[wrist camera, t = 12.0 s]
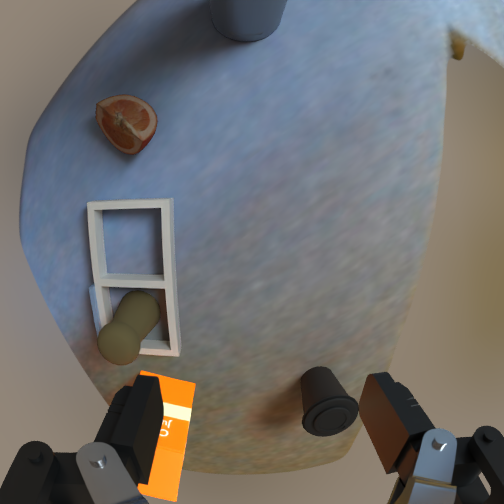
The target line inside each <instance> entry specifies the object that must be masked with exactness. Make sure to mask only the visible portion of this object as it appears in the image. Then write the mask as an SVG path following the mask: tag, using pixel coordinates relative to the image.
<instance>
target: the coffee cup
mask: <svg viewBox="0 0 504 504" xmlns="http://www.w3.org/2000/svg"><path fill="white" fill-rule="evenodd" d="M301 392H302V401H303V410H304V415H303V418H302V425H303V428H304V429H305V430H306V431H307V432H308V433H310V434H312V435H315V436H322V437H324V436H331V435H335V434H337V433H340V432H342V431H344V430H345V429H347V428H348V427H349V426H350V425H351V424H352V423H353V422H354V421H355V419H356V417H357V415H358V411H359V406H358V403H357V401H356V400H355V399H354V398H352V397H350V396H349V395H348V394H347V393H346V391H345V390H344V388H343V387H342V386H341V384H340V383H339V381H338V380H337V379H336V377H335V376H334V374H333V373H332V372H331V370H330V369H328V368H327V367H315V368H311V369H310V370H308V371H307V372H306V373H305V374H304V375H303V376H302V378H301Z"/></svg>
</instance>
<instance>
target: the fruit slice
mask: <svg viewBox="0 0 504 504" xmlns="http://www.w3.org/2000/svg"><path fill="white" fill-rule="evenodd" d="M96 120H97V122H98V125H99V126H100V128H101V130H102V131H103V133H104V135H105V136H106V137H107V139H108V140H109V141H110V142H111V143H112V144H113V145H114V146H115V147H116V148H117V149H118V150H120V151H121V152H123V153H126V154H131V155H134V154H137V153H139V152H140V151H141V150H142V149H143V148H144V147H145V146H146V145H147V144H148V143H149V142H150V140H151V139H152V137H153V135H154V134H155V131H156V127H157V115H156V113H155V111H154V110H153V108H152V107H151V106H150V105H149V104H148V103H146V102H145V101H143V100H142V99H139V98H137V97H135V96H131V95H124V94H123V95H116V96H112V97H109V98H106V99H104V100H102V101H100V102H98V103H97V104H96Z"/></svg>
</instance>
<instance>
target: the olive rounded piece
mask: <svg viewBox="0 0 504 504" xmlns="http://www.w3.org/2000/svg"><path fill="white" fill-rule="evenodd" d="M160 314H161V311H160V307H159V304H158V303H157V301H156V299H155V298H153V297H152V296H151V295H150V294H148V293H146V292H144V291H139V290H136V291H131V292H129V293H127V294H126V295H125V296H124V297H123V298H122V301H121V303H120V305H119V307H118V309H117V311H116V313H115V315H114V317H113V320H112V322H110V323H108V324H106V325H105V326H104V327H103V328H102V329H101V330H100V331H99V335H98V338H97V345H98V348H99V351H100V353H101V354H102V356H103V357H104V358H105V359H106V360H107V361H109V362H111V363H113V364H116V365H127V364H129V363H132V362H133V361H134V360H135V359H136V358H137V356H138V354H139V352H140V347H141V342H142V340H143V339H144V338H145V337H146V336H147V335H148V333H149V332H150V331H151V330H152V329H153V328H154V327H155V325H156V324H157V323H158V321H159V319H160Z"/></svg>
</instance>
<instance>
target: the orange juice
mask: <svg viewBox="0 0 504 504" xmlns="http://www.w3.org/2000/svg"><path fill="white" fill-rule="evenodd" d="M140 375H149V376H158V378H159V382H160V388H161V393H162V399H163V405H164V418H163V423H162V427H161V431H160V435H159V439H158V443H157V447H156V452H155V456H154V460H153V465H152V469H151V473H150V478H149V482H148V485H144V484H138V490H139V491H140V493H141V494H145V495H148V496H152V497H157V498H161V499H166V500H170V501H175V502H176V500H177V493H178V486H179V480H180V474H181V468H182V463H183V459H184V452H185V448H186V447H185V445H186V439H187V432H188V427H189V422H190V416H191V407H192V401H193V395H194V390H195V383H190V382H186V381H181V380H177V379H173V378H169V377H164V376H160V375H157V374H153V373H149V372H145V371H141V373H140Z"/></svg>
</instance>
